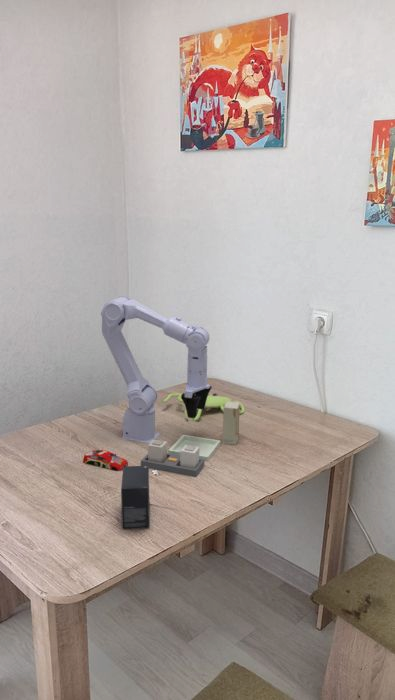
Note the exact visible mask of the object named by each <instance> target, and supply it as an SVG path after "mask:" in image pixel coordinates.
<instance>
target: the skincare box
mask: <svg viewBox="0 0 395 700" xmlns="http://www.w3.org/2000/svg"><path fill="white" fill-rule="evenodd" d="M240 402H241V401H239V402H235V401H232V402H230V401H226V403H225V406H224V411H222V412H223V413H222V415H223V416H222V441H221V442H222V445H228V446H237V444H238V441H239V435H240V433H239V432H240V414H239V413H240V411H241V410H240V409H241V407H240Z"/></svg>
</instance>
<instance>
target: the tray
mask: <svg viewBox="0 0 395 700" xmlns="http://www.w3.org/2000/svg"><path fill="white" fill-rule="evenodd" d="M221 442H222V441H221V440H220V439H218V440H217V439H212V438H205V437H202V436H201V437H200V436H194V435H188V434H183V435H182V434H181V436H180V437H179V438H178V440H176V442H175V443H174V444H172V446H171V447H170V448H169V449H167V453H169V454H175V455H180V451H181V450H182V449H183V447H184V446H185V445H189V446H195V447H200V449H199V459H203V460H205V462H208V461H209V460H210V459H211V458H212V456H213V455H214V454H215V453H216V452H217V450H218V449H219V447H220V446H221Z"/></svg>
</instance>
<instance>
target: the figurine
mask: <svg viewBox="0 0 395 700" xmlns="http://www.w3.org/2000/svg"><path fill="white" fill-rule="evenodd" d="M182 394H183V393H179V392H175V393H170V394H168V395H167V397H166V398H164V399H162V404H163V405H164V404H165V403H167V402H169V400H171V398H173V397H177V401H179V402H180V403H183V404H184V402H183V400H182V399H181V395H182ZM226 401H230V402H233V399H231V398H230V397H227V396H222V395H221V396H220V395H219V394H218V393H212V394H208V397H207V400H206V404H205V411H206V412H207V411H210V410H211V409H212V408H216V409H217V410H218V409H220V410H221V411H222V412H223V411H224V406H225V403H226ZM234 402H240V409H241V410H240V413H239V415H243V414H244V413H246V412H245V410H246V408H245V407H244V405H243V403H242V402H241V401H240V400H239V401H238V400H235V401H234ZM202 411H203V410H202V409H197V413H196V417H195V418H191V420H192V421H193V422H196V421H198V420H199V419H200V417H201V414H202ZM184 415H185V416H186V419H187V420H188V422H190V419H189V418H188V415H187V411H186V408H185V409H184Z"/></svg>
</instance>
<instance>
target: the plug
mask: <svg viewBox="0 0 395 700" xmlns="http://www.w3.org/2000/svg"><path fill="white" fill-rule="evenodd" d="M199 449H200V447H195V446H189V445H185V446H184V447H183V449H182V450H181V451H180V466H181V467H186V468H192V469H195V467H196V466H197V465H198V463H199Z"/></svg>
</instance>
